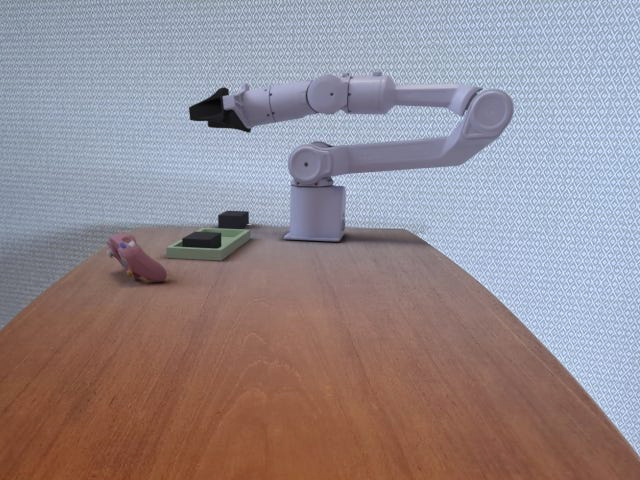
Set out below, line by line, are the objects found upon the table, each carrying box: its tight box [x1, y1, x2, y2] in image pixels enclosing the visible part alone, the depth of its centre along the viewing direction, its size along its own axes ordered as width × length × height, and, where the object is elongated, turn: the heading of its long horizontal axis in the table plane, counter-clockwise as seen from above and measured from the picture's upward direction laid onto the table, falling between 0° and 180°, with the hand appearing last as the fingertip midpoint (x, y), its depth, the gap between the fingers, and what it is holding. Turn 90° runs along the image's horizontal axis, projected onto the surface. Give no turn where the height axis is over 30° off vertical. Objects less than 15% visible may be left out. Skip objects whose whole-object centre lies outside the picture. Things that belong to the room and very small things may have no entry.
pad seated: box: [181, 231, 222, 249], centre depth 104 cm, size 6×4×2 cm
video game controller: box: [106, 232, 167, 283], centre depth 89 cm, size 10×5×7 cm, turn 25°
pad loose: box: [217, 210, 250, 229], centre depth 128 cm, size 6×4×2 cm
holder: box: [165, 227, 251, 262], centre depth 108 cm, size 18×9×2 cm, turn 166°
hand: (199, 117), depth 116 cm, fingers open, 7 cm apart
